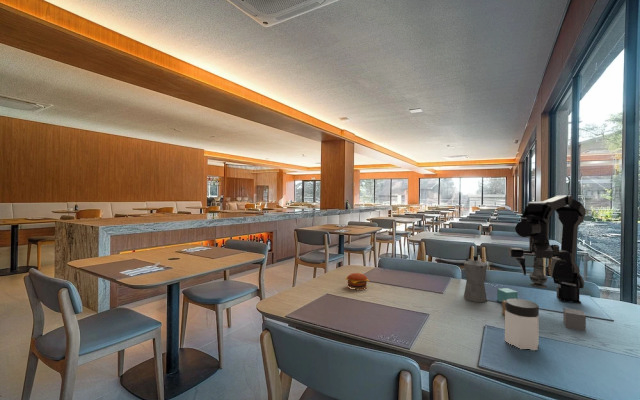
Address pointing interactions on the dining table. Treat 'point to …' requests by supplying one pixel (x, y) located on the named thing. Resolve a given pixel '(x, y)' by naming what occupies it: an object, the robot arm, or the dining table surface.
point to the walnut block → (503, 307)
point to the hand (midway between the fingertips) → (538, 276)
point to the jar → (522, 323)
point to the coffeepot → (475, 280)
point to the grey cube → (574, 319)
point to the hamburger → (357, 281)
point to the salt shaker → (538, 274)
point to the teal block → (506, 294)
